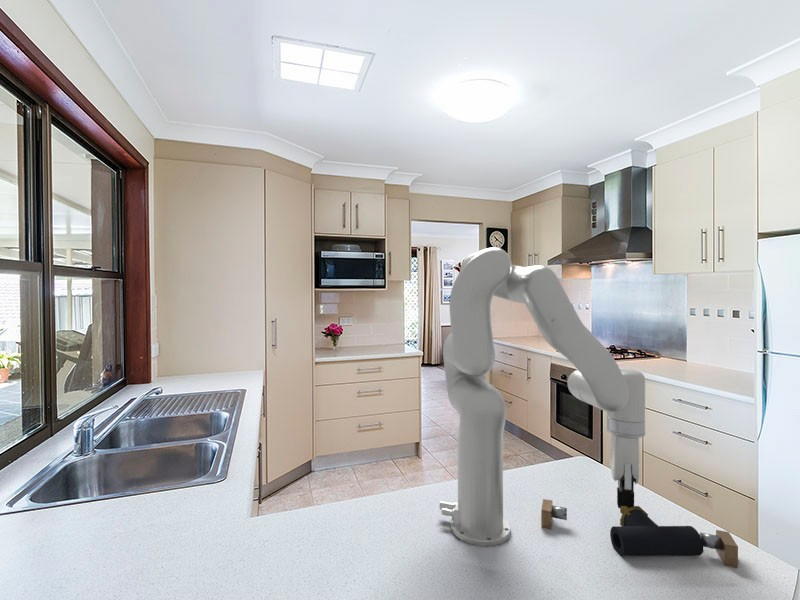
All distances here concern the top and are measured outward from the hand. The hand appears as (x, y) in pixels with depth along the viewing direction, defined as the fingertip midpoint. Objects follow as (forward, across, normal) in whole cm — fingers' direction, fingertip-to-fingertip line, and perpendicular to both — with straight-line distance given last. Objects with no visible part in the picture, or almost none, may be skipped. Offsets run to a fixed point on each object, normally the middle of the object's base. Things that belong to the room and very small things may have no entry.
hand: (625, 507), depth 92 cm
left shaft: (+3, +8, -14) cm, 17 cm away
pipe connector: (+3, +8, +3) cm, 9 cm away
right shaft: (+3, +8, +15) cm, 17 cm away
